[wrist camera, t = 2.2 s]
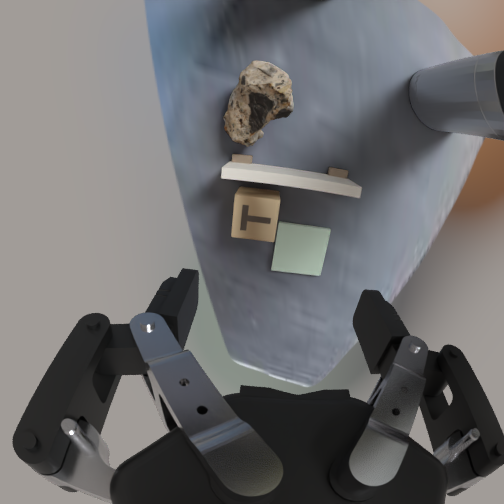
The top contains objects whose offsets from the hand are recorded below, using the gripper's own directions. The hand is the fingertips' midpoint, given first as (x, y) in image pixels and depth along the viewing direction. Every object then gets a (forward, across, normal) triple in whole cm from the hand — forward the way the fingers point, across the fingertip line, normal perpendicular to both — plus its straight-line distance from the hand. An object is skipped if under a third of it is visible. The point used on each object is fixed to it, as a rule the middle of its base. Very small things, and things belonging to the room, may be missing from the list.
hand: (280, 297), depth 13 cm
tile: (+23, -5, +7) cm, 25 cm away
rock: (+24, +3, -11) cm, 26 cm away
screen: (+23, -2, -3) cm, 24 cm away
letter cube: (+24, +1, +2) cm, 24 cm away
